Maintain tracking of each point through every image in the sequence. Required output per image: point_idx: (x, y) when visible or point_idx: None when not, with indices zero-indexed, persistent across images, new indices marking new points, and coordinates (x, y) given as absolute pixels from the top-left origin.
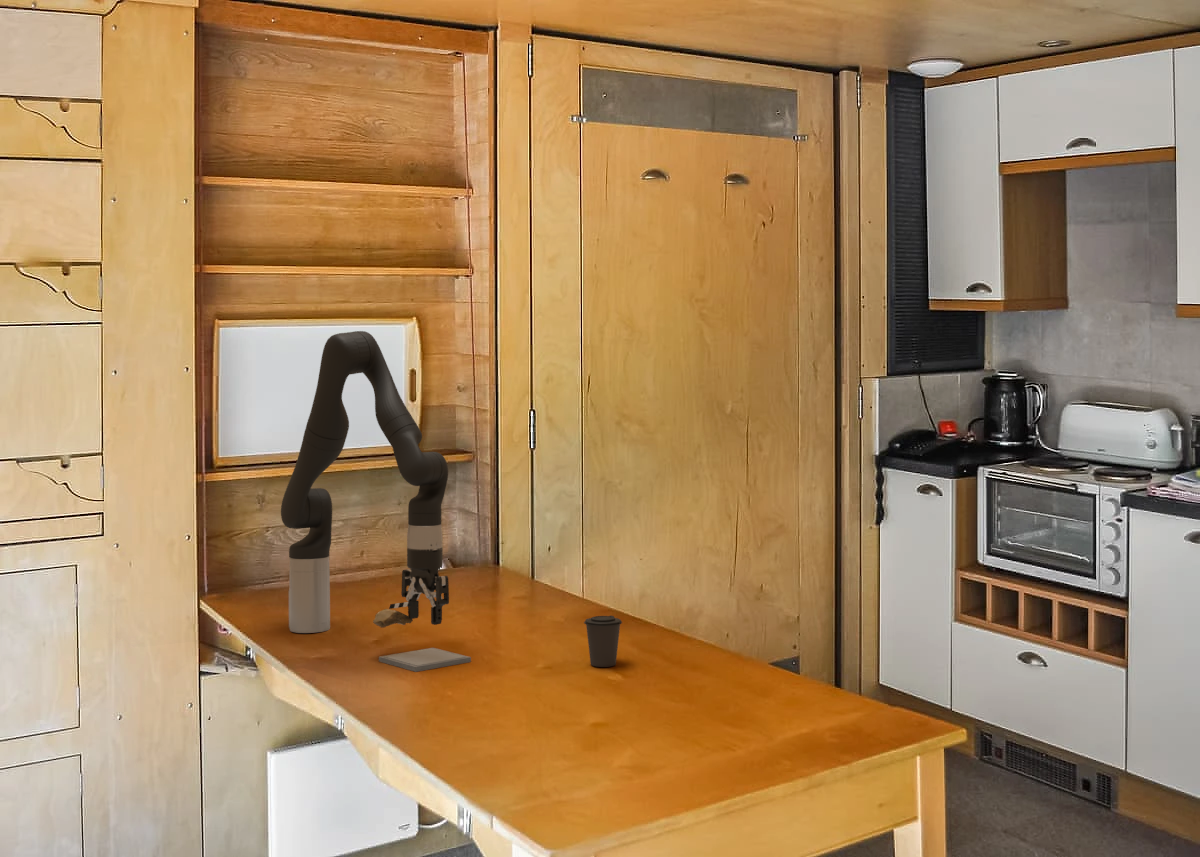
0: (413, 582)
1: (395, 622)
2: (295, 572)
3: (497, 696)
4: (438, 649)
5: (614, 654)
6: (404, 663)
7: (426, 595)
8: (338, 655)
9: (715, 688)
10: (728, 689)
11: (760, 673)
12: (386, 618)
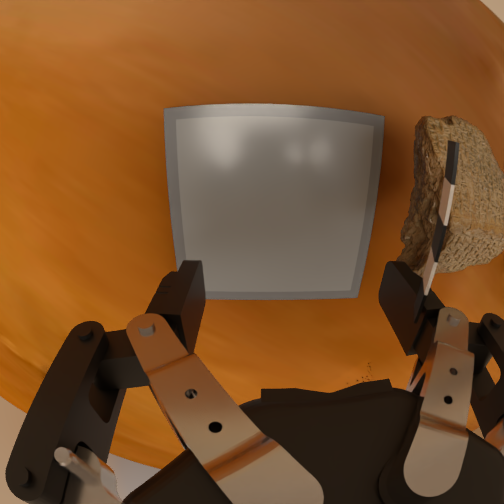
0: (430, 437)
1: (415, 188)
2: None
3: None
4: (328, 295)
5: None
6: (234, 106)
7: (189, 367)
8: (487, 112)
9: None
10: None
11: (16, 402)
12: (438, 142)
